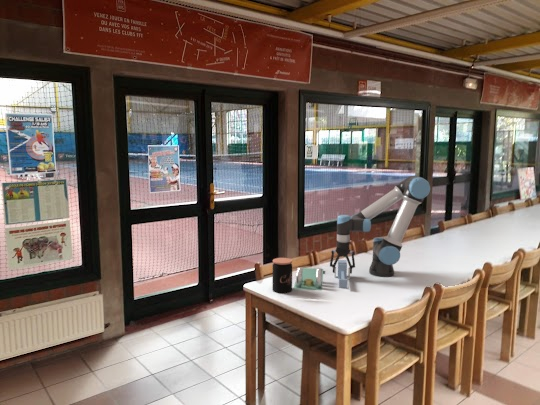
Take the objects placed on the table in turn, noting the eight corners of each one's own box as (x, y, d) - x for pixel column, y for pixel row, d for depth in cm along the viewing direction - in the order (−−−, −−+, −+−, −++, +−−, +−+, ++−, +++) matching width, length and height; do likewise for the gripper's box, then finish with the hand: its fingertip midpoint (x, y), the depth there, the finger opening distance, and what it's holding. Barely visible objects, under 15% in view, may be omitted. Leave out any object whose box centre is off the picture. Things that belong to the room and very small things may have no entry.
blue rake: (345, 275, 257) (346, 260, 256) (347, 290, 231) (347, 272, 230) (337, 275, 258) (338, 259, 256) (338, 289, 232) (338, 272, 230)
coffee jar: (280, 297, 220) (280, 264, 218) (268, 291, 229) (268, 259, 226) (295, 293, 227) (296, 260, 224) (283, 287, 235) (284, 256, 233)
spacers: (321, 281, 242) (321, 268, 241) (321, 289, 229) (321, 275, 228) (297, 280, 244) (297, 267, 243) (295, 287, 231) (295, 273, 230)
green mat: (323, 270, 267) (323, 268, 267) (321, 292, 228) (321, 290, 227) (299, 269, 269) (299, 267, 269) (293, 290, 230) (293, 288, 230)
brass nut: (313, 284, 238) (313, 279, 237) (313, 286, 233) (313, 281, 233) (304, 283, 238) (304, 278, 238) (304, 286, 234) (304, 281, 234)
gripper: (360, 240, 249) (358, 277, 253) (325, 239, 252) (325, 275, 255) (361, 243, 242) (359, 281, 245) (325, 241, 245) (324, 279, 248)
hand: (342, 278), depth 250 cm, fingers open, 8 cm apart
